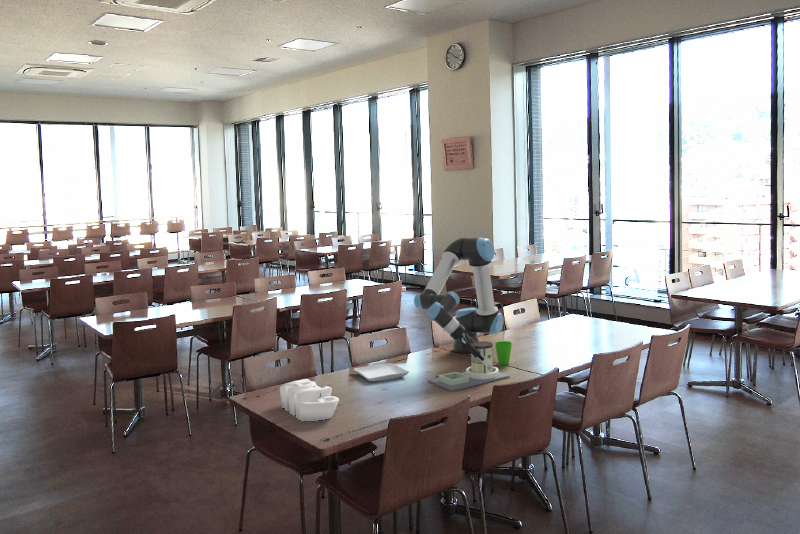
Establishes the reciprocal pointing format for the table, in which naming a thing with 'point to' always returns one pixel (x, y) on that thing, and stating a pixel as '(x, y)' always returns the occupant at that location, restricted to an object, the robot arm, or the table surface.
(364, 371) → the salad plate
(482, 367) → the coffee can
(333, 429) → the table surface
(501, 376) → the sorting board
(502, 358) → the cup
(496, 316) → the robot arm
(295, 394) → the wavy white extrusion
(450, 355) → the table surface
